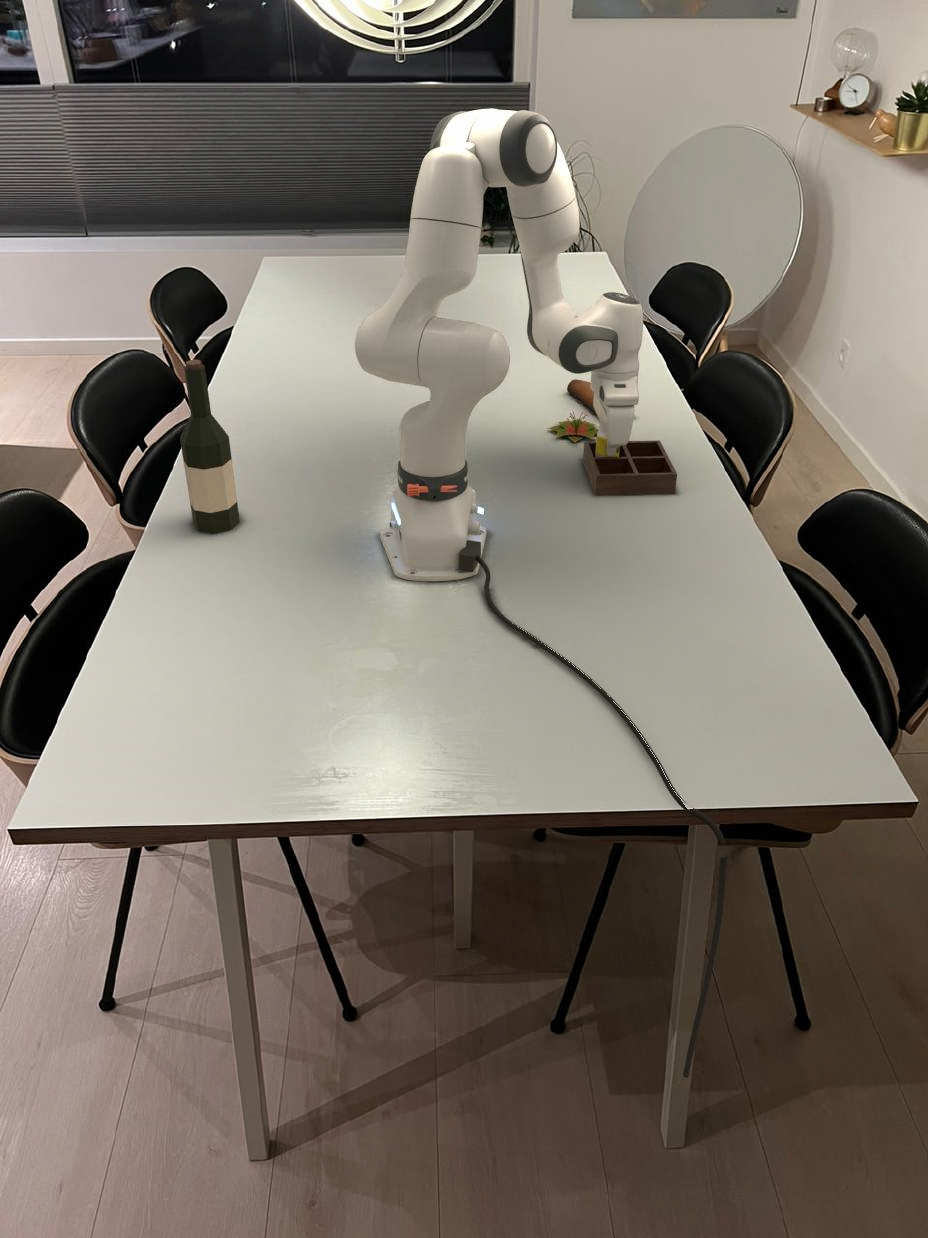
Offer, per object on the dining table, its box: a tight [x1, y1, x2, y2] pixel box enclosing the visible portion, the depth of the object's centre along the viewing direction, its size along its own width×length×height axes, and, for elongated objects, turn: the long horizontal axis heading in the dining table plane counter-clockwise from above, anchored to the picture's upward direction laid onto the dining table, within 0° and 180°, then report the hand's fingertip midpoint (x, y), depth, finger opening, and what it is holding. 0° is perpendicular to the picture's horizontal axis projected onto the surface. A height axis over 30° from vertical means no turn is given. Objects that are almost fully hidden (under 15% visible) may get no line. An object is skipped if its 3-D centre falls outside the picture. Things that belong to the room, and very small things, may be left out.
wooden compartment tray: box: [582, 439, 678, 496], centre depth 205 cm, size 15×15×4 cm
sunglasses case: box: [566, 379, 597, 415], centre depth 234 cm, size 18×7×7 cm, turn 22°
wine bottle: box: [179, 359, 241, 535], centre depth 181 cm, size 8×8×30 cm
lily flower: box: [546, 411, 600, 444], centre depth 221 cm, size 12×12×5 cm
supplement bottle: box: [595, 421, 620, 457], centre depth 205 cm, size 5×5×8 cm
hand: (607, 447), depth 206 cm, fingers closed on supplement bottle, 5 cm apart
